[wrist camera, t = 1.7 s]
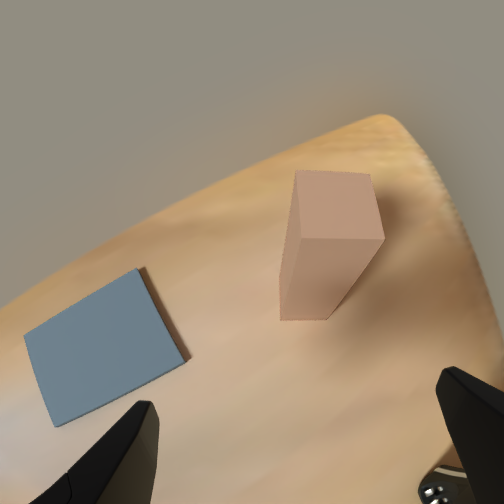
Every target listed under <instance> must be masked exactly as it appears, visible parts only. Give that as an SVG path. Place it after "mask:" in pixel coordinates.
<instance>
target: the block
mask: <svg viewBox="0 0 504 504" xmlns="http://www.w3.org/2000/svg"><path fill="white" fill-rule="evenodd" d="M384 240H385V236H384V231H383V227H382V222H381V218H380V213H379V209H378V205H377V200H376V196H375V192H374V188H373V184H372V181H371V177H370V174H365V173H350V172H333V171H311V170H296V173H295V180H294V187H293V194H292V200H291V207H290V214H289V220H288V226H287V233H286V239H285V245H284V252H283V258H282V264H281V270H280V276H279V285H280V320H327V319H328V317H329V316H330V315H331V313H332V312H333V311H334V310H335V308H336V307H337V306H338V304H339V303H340V302H341V300H342V299H343V298H344V296H345V295H346V294H347V292H348V291H349V290H350V288H351V287H352V286H353V284H354V283H355V282H356V280H357V279H358V278H359V276H360V275H361V273H362V272H363V271H364V269H365V268H366V266H367V265H368V264H369V262H370V261H371V259H372V258H373V256H374V255H375V254H376V252H377V251H378V249H379V248H380V246H381V245H382V243H383V242H384Z"/></svg>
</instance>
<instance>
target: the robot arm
mask: <svg viewBox="0 0 504 504" xmlns="http://www.w3.org/2000/svg"><path fill="white" fill-rule="evenodd" d="M436 395H437V398H438V401H439V404H440V407H441V410H442V413H443V416H444V420H445V423H446V426H447V429H448V431H449V434H450V436H451V439H452V441H453V443H454V446H455V448H456V451H457V453H458V456H459V458H460V461H461V463H462V466H463V468H464V471H465V474H466V476H467V479H468V482H469V485H470V487H471V490H472V493H473V496H474V499H475V502H476V504H504V392H502V391H500V390H498V389H497V388H495V387H493V386H491V385H489V384H487V383H485V382H483V381H481V380H480V379H478V378H476V377H474V376H472V375H470V374H468V373H466V372H464V371H463V370H461V369H459V368H457V367H455V366H451V367H448V368H445V369H443V370H442V372H441V375H440V377H439V380H438V382H437V385H436ZM159 426H160V423H159V417H158V415H157V412H156V410H155V407H154V405H153V403H152V402H151V401H143V400H139V401H137V402H136V403H135V404H134V405H133V406H132V407H131V408H130V409H129V410H128V411H127V412H126V413H125V414H124V415H123V416H122V417H121V418H120V419H119V420H118V421H117V422H116V423H115V424H114V425H113V426H112V427H111V428H110V429H109V430H108V431H107V432H106V433H105V434H104V435H103V436H102V437H101V438H100V439H99V440H98V441H97V442H96V443H95V444H94V445H93V446H92V447H91V448H90V449H89V450H88V451H87V452H86V453H85V454H84V455H83V456H82V457H81V458H80V459H79V460H78V461H77V462H76V463H75V464H74V465H73V466H72V467H71V468H70V469H69V470H68V471H67V473H65V474H64V475H63V476H62V477H60V478H59V479H58V480H57V481H56V482H55V483H54V484H53V485H52V486H51V487H50V488H48V489H47V490H46V491H45V492H44V493H42V494H41V495H40V496H38V497H37V498H36V499H34V500H33V501H32V502H30V503H29V504H150V502H151V496H152V490H153V485H154V479H155V474H156V468H157V454H158V439H159Z"/></svg>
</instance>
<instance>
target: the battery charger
mask: <svg viewBox="0 0 504 504" xmlns="http://www.w3.org/2000/svg"><path fill="white" fill-rule="evenodd" d="M418 494H419V497H420V499H421V502H422V504H476V502H475V499H474V496H473V493H472V490H471V487H470V485H469V482H468V479H467V476H466V474H465V471H464V469H462V468H457V467H452V466H447V465H441V466H440V467H439V468H436V469H435V470H434V471H433V472H432V473H431V474H430V475H428V476H427V477H426V479H425V480H423V482H422V483H421V484H420V486H419V489H418Z"/></svg>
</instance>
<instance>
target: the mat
mask: <svg viewBox="0 0 504 504" xmlns="http://www.w3.org/2000/svg"><path fill="white" fill-rule="evenodd" d="M24 339H25V343H26V347H27V350H28V354H29V357H30V361H31V364H32V367H33V370H34V374H35V377H36V380H37V383H38V386H39V388H40V391H41V394H42V397H43V399H44V402H45V405H46V407H47V410H48V412H49V415H50V417H51V420H52V422H53V425H54V427H60V426H62V425H64V424H67V423H69V422H71V421H73V420H75V419H77V418H79V417H82V416H84V415H86V414H88V413H90V412H92V411H94V410H96V409H98V408H100V407H102V406H104V405H106V404H108V403H110V402H112V401H114V400H116V399H118V398H120V397H122V396H124V395H126V394H128V393H130V392H132V391H134V390H136V389H138V388H140V387H142V386H144V385H146V384H148V383H149V382H151V381H153V380H155V379H157V378H159V377H161V376H163V375H164V374H166V373H168V372H170V371H172V370H174V369H175V368H177V367H179V366H181V365H183V364H185V363H186V362H185V360H184V358H183V357H182V355H181V353H180V351H179V349H178V347H177V346H176V344H175V342H174V340H173V338H172V336H171V335H170V333H169V331H168V329H167V327H166V325H165V323H164V321H163V319H162V317H161V315H160V313H159V312H158V310H157V308H156V306H155V304H154V302H153V300H152V297H151V295H150V293H149V291H148V289H147V287H146V285H145V283H144V281H143V279H142V277H141V275H140V272H139V270H138V269H137V268H135V269H134V270H132V271H130V272H128V273H127V274H125V275H123V276H121V277H120V278H118V279H116V280H114V281H113V282H111V283H109V284H108V285H106V286H104V287H102V288H101V289H99V290H97V291H96V292H94V293H92V294H90V295H89V296H87V297H85V298H84V299H82V300H80V301H79V302H77V303H75V304H74V305H72V306H70V307H69V308H67V309H65V310H64V311H62V312H60V313H59V314H57V315H56V316H54V317H52V318H51V319H49V320H47V321H46V322H44V323H43V324H41V325H39V326H38V327H36V328H35V329H33V330H31V331H30V332H28V333H27V334H25V335H24Z"/></svg>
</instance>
